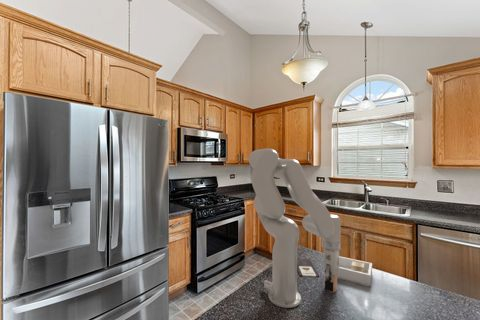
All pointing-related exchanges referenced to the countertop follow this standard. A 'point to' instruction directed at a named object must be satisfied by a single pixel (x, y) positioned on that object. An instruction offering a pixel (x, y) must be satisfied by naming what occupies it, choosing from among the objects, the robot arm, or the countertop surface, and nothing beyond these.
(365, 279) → the tote
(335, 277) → the terracotta cylinder
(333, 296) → the countertop surface
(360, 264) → the wood cube
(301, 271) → the chocolate bar
